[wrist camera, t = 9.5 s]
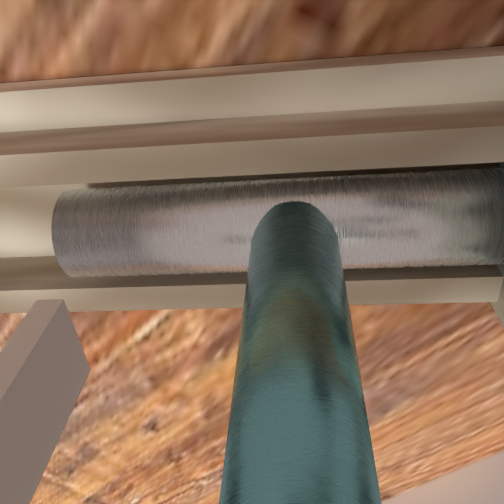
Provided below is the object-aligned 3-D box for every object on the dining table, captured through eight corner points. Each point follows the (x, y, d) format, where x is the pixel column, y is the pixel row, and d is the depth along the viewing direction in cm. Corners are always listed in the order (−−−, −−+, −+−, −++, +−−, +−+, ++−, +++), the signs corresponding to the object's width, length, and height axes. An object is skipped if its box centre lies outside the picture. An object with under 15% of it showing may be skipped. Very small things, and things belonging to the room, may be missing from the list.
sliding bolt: (77, 174, 19) (-241, 536, 8) (616, 146, 17) (1290, 579, 6) (100, 246, 21) (-129, 623, 9) (587, 228, 19) (1047, 679, 7)
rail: (-195, 97, 20) (-376, 158, 14) (503, 45, 17) (604, 96, 12) (-82, 288, 25) (-183, 384, 20) (460, 272, 22) (514, 378, 17)
